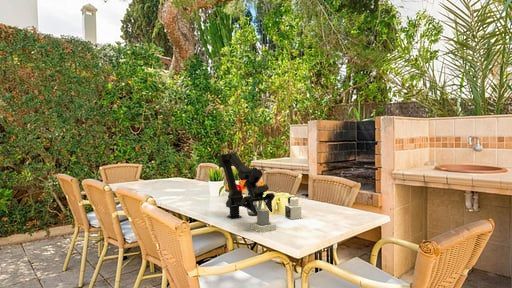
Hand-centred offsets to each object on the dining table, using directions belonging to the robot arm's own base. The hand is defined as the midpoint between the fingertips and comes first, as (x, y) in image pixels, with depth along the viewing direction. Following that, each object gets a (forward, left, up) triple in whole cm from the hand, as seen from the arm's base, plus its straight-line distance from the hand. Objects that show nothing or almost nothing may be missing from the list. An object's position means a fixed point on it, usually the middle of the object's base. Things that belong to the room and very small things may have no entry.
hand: (264, 213), depth 179 cm
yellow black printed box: (-11, +27, -9) cm, 31 cm away
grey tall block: (-1, 0, -8) cm, 8 cm away
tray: (-1, 0, -9) cm, 9 cm away
